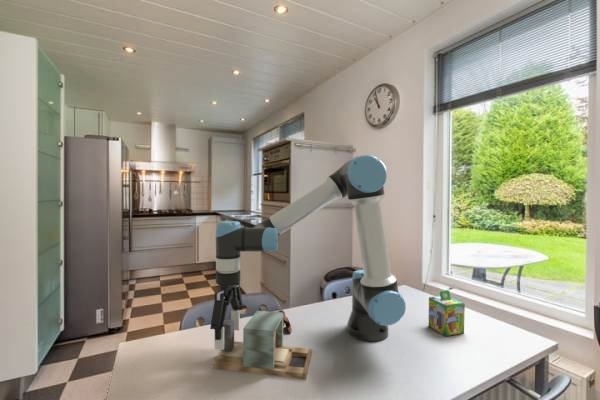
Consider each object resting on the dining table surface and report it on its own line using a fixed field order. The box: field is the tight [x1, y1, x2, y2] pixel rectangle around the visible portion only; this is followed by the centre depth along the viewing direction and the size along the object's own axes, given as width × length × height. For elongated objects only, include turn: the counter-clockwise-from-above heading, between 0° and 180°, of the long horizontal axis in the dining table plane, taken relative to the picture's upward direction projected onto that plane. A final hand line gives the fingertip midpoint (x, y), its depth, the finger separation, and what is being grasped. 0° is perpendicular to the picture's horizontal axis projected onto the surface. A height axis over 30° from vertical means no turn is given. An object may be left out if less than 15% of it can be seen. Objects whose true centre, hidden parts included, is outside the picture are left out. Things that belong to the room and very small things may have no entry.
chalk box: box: [427, 290, 466, 337], centre depth 108 cm, size 9×9×15 cm
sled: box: [219, 319, 289, 363], centre depth 88 cm, size 20×7×9 cm, turn 81°
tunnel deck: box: [212, 310, 313, 380], centre depth 87 cm, size 28×13×13 cm, turn 81°
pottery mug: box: [276, 309, 293, 335], centre depth 107 cm, size 12×10×8 cm
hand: (227, 338), depth 89 cm, fingers open, 11 cm apart
